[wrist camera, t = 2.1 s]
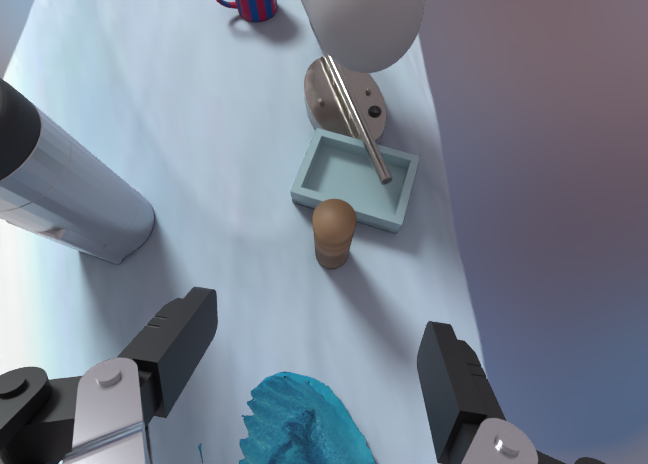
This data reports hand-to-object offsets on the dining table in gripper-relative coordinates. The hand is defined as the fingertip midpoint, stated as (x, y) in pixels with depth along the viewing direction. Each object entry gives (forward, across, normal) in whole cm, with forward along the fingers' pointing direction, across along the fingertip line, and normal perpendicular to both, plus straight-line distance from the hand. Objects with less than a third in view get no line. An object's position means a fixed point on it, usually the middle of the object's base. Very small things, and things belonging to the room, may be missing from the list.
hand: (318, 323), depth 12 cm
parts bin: (+32, +2, -3) cm, 32 cm away
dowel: (+25, 0, -10) cm, 27 cm away
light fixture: (+42, -2, +7) cm, 42 cm away
